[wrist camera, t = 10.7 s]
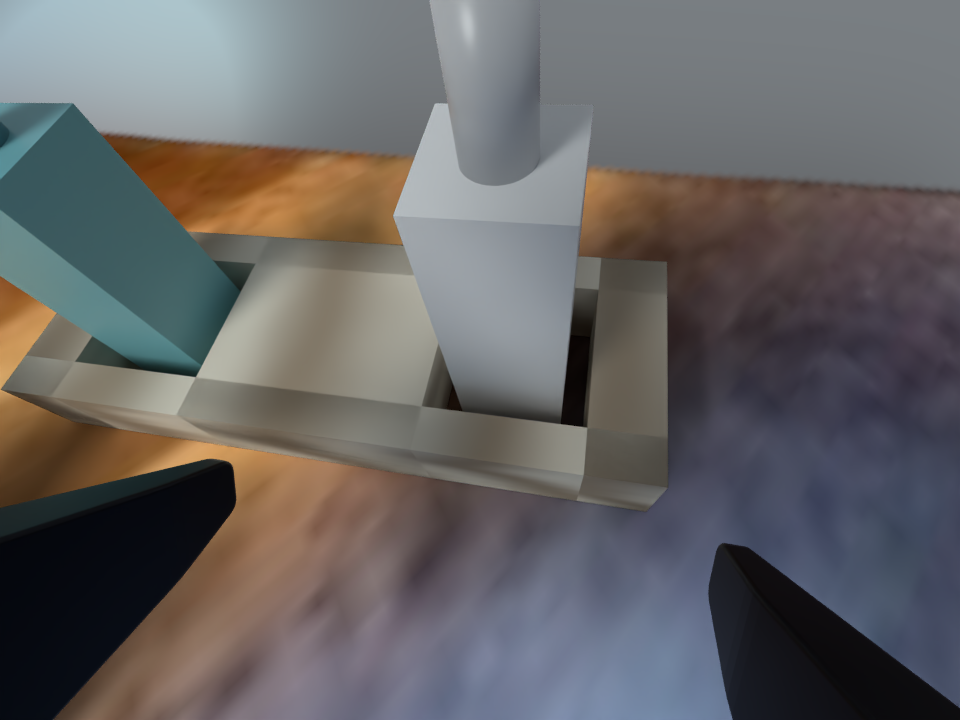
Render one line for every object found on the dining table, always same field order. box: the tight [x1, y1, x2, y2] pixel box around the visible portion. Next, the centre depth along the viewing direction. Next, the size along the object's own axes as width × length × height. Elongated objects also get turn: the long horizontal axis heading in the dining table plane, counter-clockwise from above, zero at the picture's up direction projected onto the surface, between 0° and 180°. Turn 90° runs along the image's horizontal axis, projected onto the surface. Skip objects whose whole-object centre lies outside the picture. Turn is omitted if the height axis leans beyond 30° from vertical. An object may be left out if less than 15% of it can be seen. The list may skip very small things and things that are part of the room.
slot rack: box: [1, 232, 668, 512], centre depth 18 cm, size 22×8×3 cm, turn 79°
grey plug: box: [393, 0, 594, 424], centre depth 12 cm, size 3×3×13 cm
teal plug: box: [0, 103, 240, 377], centre depth 15 cm, size 3×3×13 cm
